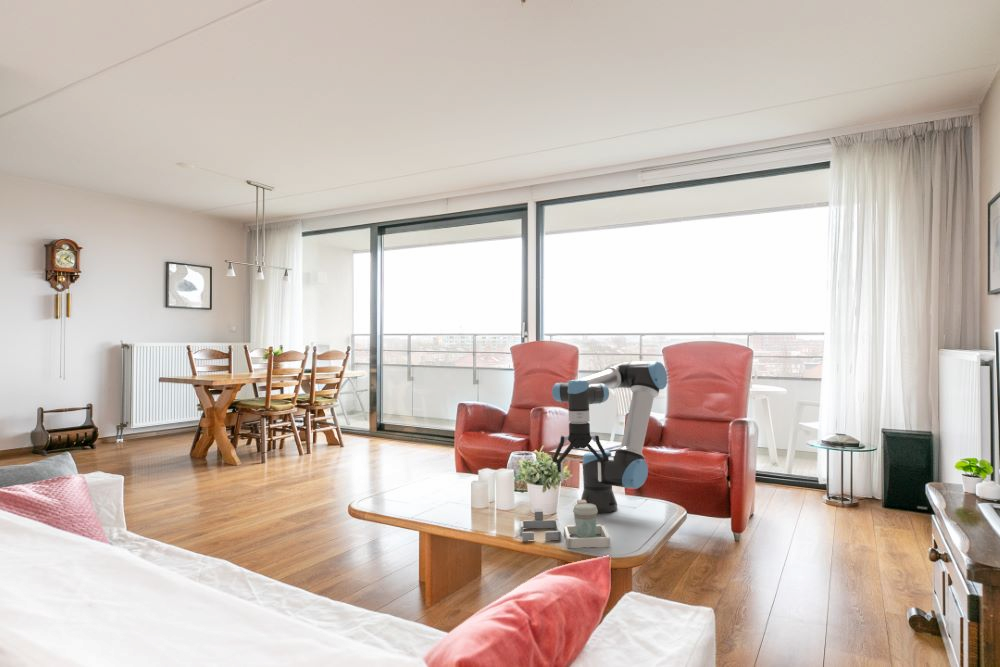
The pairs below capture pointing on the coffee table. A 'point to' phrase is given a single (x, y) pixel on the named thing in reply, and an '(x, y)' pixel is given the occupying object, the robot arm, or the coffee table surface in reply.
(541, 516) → the grey block base
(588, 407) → the robot arm
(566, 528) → the grey tray bin
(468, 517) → the coffee table surface
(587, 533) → the coffee cup
